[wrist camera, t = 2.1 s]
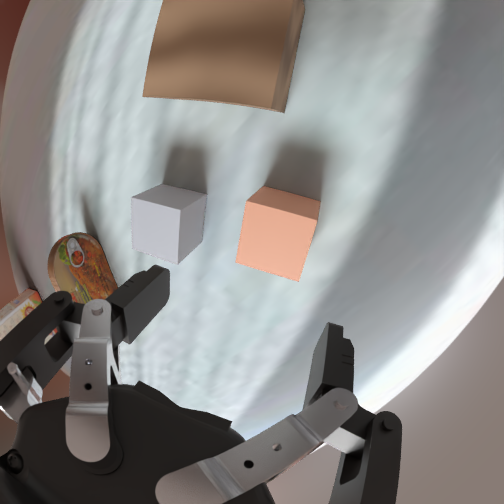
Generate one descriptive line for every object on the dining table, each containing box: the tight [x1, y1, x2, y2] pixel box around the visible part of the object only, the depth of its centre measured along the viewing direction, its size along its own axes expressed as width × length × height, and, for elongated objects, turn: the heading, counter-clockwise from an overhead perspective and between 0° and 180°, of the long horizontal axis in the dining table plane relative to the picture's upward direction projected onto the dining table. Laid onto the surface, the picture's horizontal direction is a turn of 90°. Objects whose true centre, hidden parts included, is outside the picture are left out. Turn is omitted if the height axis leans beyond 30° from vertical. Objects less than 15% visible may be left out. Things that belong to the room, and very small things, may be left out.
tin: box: [48, 232, 118, 304], centre depth 30 cm, size 15×3×8 cm, turn 11°
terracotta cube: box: [236, 186, 321, 282], centre depth 22 cm, size 5×5×5 cm
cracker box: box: [0, 288, 58, 344], centre depth 40 cm, size 14×6×21 cm, turn 6°
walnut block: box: [143, 0, 305, 113], centre depth 16 cm, size 10×10×5 cm
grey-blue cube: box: [131, 184, 207, 265], centre depth 24 cm, size 5×5×5 cm
